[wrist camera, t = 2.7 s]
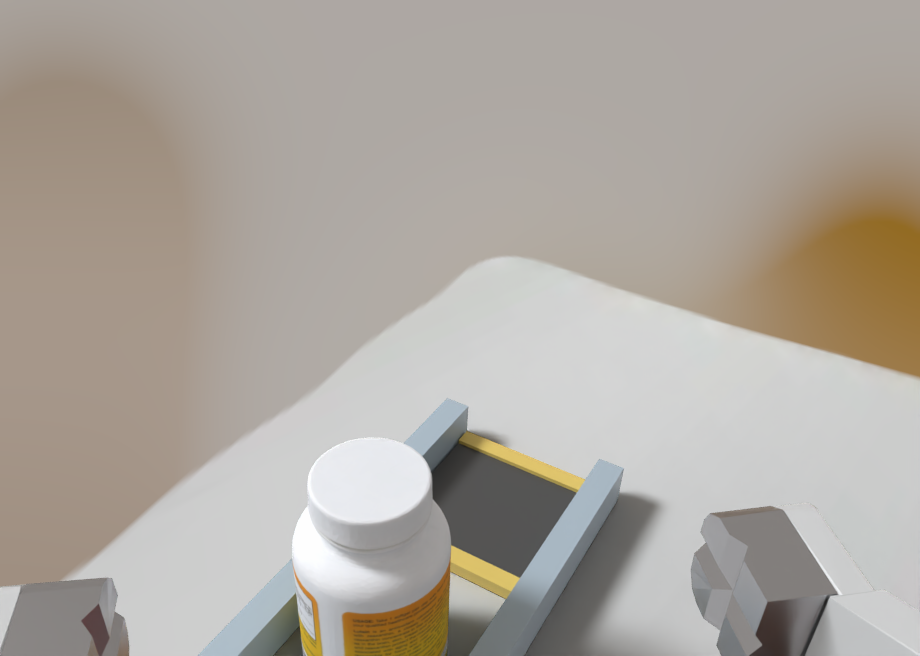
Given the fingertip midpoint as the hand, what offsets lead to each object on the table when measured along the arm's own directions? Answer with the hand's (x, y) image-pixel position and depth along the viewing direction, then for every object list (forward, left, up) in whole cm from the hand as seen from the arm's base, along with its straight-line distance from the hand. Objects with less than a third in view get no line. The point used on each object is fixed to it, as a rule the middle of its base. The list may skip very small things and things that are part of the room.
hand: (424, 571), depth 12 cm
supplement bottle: (-9, -8, -20) cm, 23 cm away
